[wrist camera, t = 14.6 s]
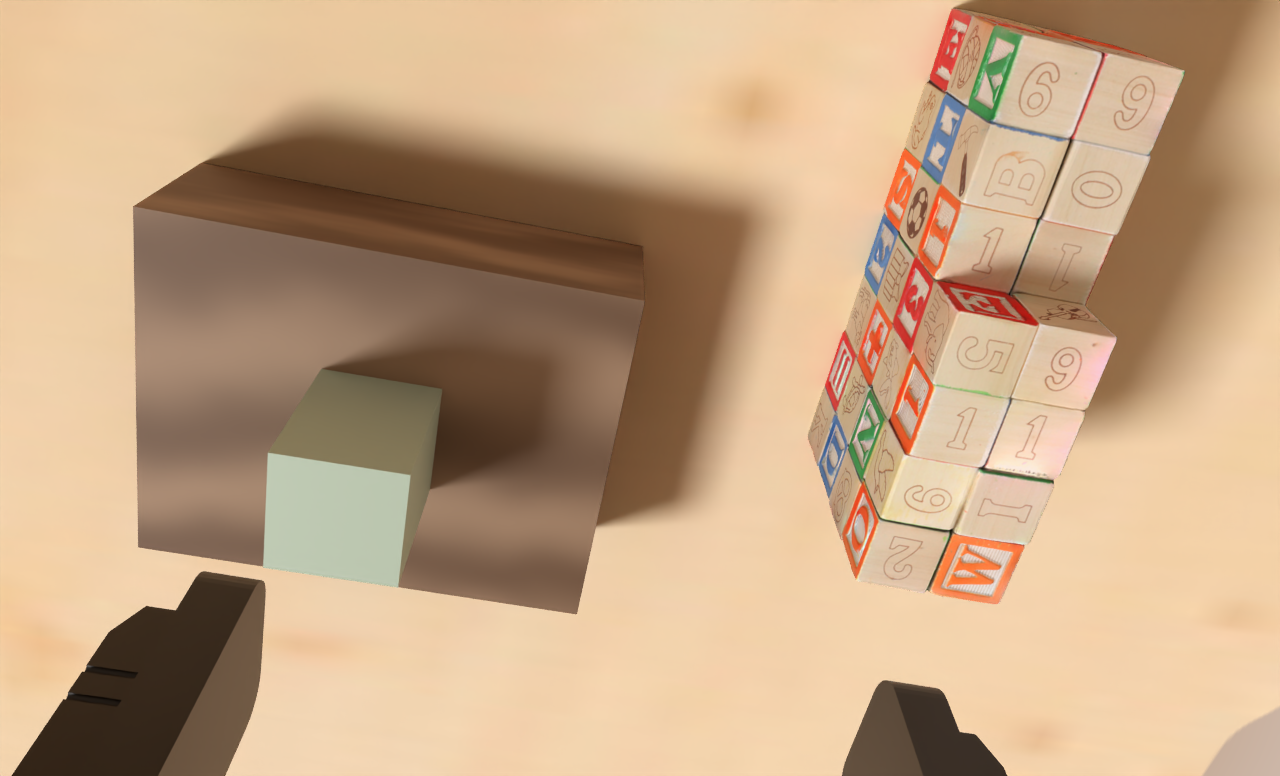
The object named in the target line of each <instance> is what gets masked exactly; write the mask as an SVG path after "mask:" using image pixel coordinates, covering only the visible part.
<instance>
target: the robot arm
mask: <svg viewBox="0 0 1280 776" xmlns="http://www.w3.org/2000/svg"><path fill="white" fill-rule="evenodd" d="M265 592H266V591H265V583H264V581H262V580H255V579H249V578H243V577H236V576H230V575H224V574H217V573H211V572H201V573H200V574H199V575H198V576H197V577H196V578H195V580H194V582H193V583H192V585H191V586H190V588H189V590H188V591H187V593H186V595H185V596H184V598H183V600H182V601H181V603H180V605H179V606H178V608H177V610H176V611H175V610H169V609H162V608H155V607H149V606H146V607H144V608H143V609H141V610H140V611H138V612H137V613H136V614H134V615H133V616H131V617H130V618H128V619H127V620H126V621H124V622H123V623H121V624H120V625H118V626H117V627H116V628H114V629H113V630H111V631H110V632H109V633H108V634H107V636H106V637H105V639H104V640H103V642H102V643H101V645H100V646H99V648H98V649H97V651H96V652H95V654H94V655H93V656H92V658H91V659H90V661H89V662H88V664H87V667H86V670H85V672H82V673H81V674H80V676H79V677H78V679H77V680H76V682H75V683H74V684H73V686H72V687H71V689H70V690H69V692H68V696H67V699H66V700H65V699H63V701H62V702H61V704H60V705H59V707H58V708H57V710H56V711H55V713H54V714H53V715H52V717H51V718H50V720H49V721H48V723H47V724H46V726H45V727H44V729H43V730H42V732H41V733H40V735H39V736H38V738H37V739H36V741H35V742H34V743H33V745H32V746H31V748H30V749H29V751H28V752H27V754H26V755H25V757H24V758H23V760H22V761H21V763H20V764H19V766H18V767H17V769H16V770H15V772H14V773H13V774H12V776H225V775H226V772H227V770H228V768H229V766H230V763H231V761H232V759H233V757H234V754H235V752H236V750H237V748H238V745H239V743H240V741H241V738H242V736H243V734H244V732H245V729H246V727H247V725H248V722H249V720H250V717H251V714H252V711H253V707H254V704H255V700H256V696H257V692H258V687H259V681H260V674H261V659H262V643H263V627H264V610H265ZM842 776H1007V774H1006V772H1005V770H1004V767H1003V766H1002V765H1001V764H1000V763H999V762H998V760H997V759H996V758H995V757H994V756H993V754H992V753H991V752H990V751H989V750H988V749H987V747H986V746H985V745H984V744H983V743H982V741H981V740H980V739H979V738H978V737H977V736H976V735H975V734H969V733H962V732H959V729H958V727H957V724H956V722H955V719H954V717H953V714H952V711H951V709H950V706H949V704H948V701H947V699H946V697H945V695H944V693H943V692H942V691H941V690H940V689H937V688H931V687H925V686H919V685H912V684H906V683H900V682H893V681H887V680H885V681H882V682H881V683H880V684H879V685H878V686H877V688H876V689H875V692H874V694H873V696H872V699H871V701H870V703H869V706H868V708H867V711H866V713H865V715H864V718H863V720H862V723H861V725H860V727H859V730H858V732H857V735H856V737H855V739H854V742H853V744H852V747H851V749H850V751H849V754H848V756H847V759H846V762H845V765H844V768H843V774H842Z"/></svg>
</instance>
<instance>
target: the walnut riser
mask: <svg viewBox="0 0 1280 776" xmlns="http://www.w3.org/2000/svg"><path fill="white" fill-rule="evenodd" d="M133 222H134V289H135V356H136V422H137V489H138V547H140V548H146V549H153V550H159V551H166V552H172V553H179V554H185V555H192V556H199V557H205V558H212V559H218V560H225V561H231V562H238V563H244V564H251V565H257V566H263V559H264V535H265V511H266V486H267V462H268V452H269V450H270V449H271V447H272V445H273V444H274V442H275V441H276V439H277V438H278V436H279V434H280V433H281V431H282V430H283V428H284V427H285V425H286V423H287V422H288V420H289V419H290V417H291V416H292V414H293V412H294V411H295V409H296V408H297V406H298V405H299V403H300V401H301V400H302V398H303V397H304V395H305V394H306V392H307V390H308V389H309V387H310V386H311V384H312V383H313V381H314V380H315V378H316V376H317V375H318V373H319V372H320V370H321V369H326V370H332V371H338V372H344V373H350V374H356V375H362V376H368V377H374V378H380V379H386V380H392V381H398V382H404V383H410V384H416V385H422V386H428V387H434V388H440V389H442V396H441V404H440V412H439V420H438V428H437V436H436V445H435V453H434V461H433V469H432V477H431V485H430V491H429V494H428V497H427V500H426V503H425V506H424V509H423V512H422V515H421V519H420V522H419V525H418V528H417V531H416V534H415V537H414V540H413V543H412V546H411V549H410V552H409V555H408V558H407V561H406V564H405V567H404V571H403V574H402V577H401V580H400V583H399V586H398V587H401V588H408V589H414V590H421V591H427V592H434V593H441V594H447V595H454V596H460V597H467V598H473V599H480V600H486V601H493V602H499V603H506V604H513V605H519V606H526V607H532V608H539V609H545V610H552V611H558V612H565V613H571V614H577V611H578V606H579V602H580V597H581V593H582V588H583V583H584V579H585V574H586V570H587V565H588V560H589V556H590V551H591V547H592V542H593V537H594V533H595V528H596V524H597V519H598V514H599V510H600V505H601V501H602V496H603V492H604V487H605V482H606V478H607V473H608V469H609V464H610V459H611V455H612V450H613V446H614V441H615V436H616V432H617V427H618V423H619V418H620V413H621V409H622V404H623V400H624V395H625V390H626V386H627V381H628V377H629V372H630V368H631V363H632V358H633V354H634V349H635V345H636V340H637V335H638V331H639V326H640V322H641V317H642V312H643V308H644V303H645V291H644V270H643V249H642V246H637V245H632V244H627V243H621V242H616V241H611V240H606V239H600V238H595V237H590V236H585V235H579V234H574V233H569V232H564V231H558V230H553V229H548V228H543V227H537V226H532V225H527V224H521V223H516V222H511V221H506V220H500V219H495V218H490V217H485V216H479V215H474V214H469V213H464V212H458V211H453V210H448V209H442V208H437V207H432V206H427V205H421V204H416V203H411V202H406V201H400V200H395V199H390V198H385V197H379V196H374V195H369V194H363V193H358V192H353V191H348V190H342V189H337V188H332V187H327V186H321V185H316V184H311V183H306V182H300V181H295V180H290V179H285V178H279V177H274V176H269V175H263V174H258V173H253V172H248V171H242V170H237V169H232V168H227V167H221V166H216V165H211V164H206V163H200V164H199V165H197V166H196V167H194V168H193V169H191V170H190V171H188V172H186V173H185V174H183V175H182V176H180V177H179V178H177V179H175V180H174V181H172V182H171V183H169V184H168V185H166V186H165V187H163V188H161V189H160V190H158V191H157V192H155V193H154V194H152V195H150V196H149V197H147V198H146V199H144V200H143V201H141V202H140V203H138V204H136V205H135V206H133Z"/></svg>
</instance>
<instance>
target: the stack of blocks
mask: <svg viewBox="0 0 1280 776" xmlns="http://www.w3.org/2000/svg"><path fill="white" fill-rule="evenodd" d="M1184 74H1185V70H1182V69H1180V68H1177V67H1174V66H1171V65H1168V64H1165V63H1163V62H1160V61H1157V60H1154V59H1151V58H1148V57H1147V56H1145V55H1142V54H1139V53H1136V52H1133V51H1130V50H1127V49H1124V48H1120V47H1117V46H1114V45H1109V44H1105V43H1102V42H1098V41H1095V40H1091V39H1088V38H1084V37H1080V36H1076V35H1072V34H1067V33H1063V32H1059V31H1054V30H1050V29H1045V28H1041V27H1037V26H1032V25H1028V24H1023V23H1020V22H1017V21H1014V20H1009V19H1005V18H1001V17H996V16H992V15H988V14H983V13H979V12H974V11H969V10H963V9H956V8H954V9H952V10H951V12H950V15H949V18H948V22H947V25H946V28H945V31H944V34H943V37H942V41H941V44H940V47H939V50H938V53H937V56H936V59H935V62H934V66H933V69H932V72H931V74H930V81H929V82H927V83H926V84H925V87H924V90H923V93H922V96H921V99H920V102H919V105H918V108H917V111H916V114H915V117H914V120H913V123H912V126H911V129H910V132H909V135H908V138H907V141H906V147H905V149H904V151H903V153H902V156H901V158H900V161H899V164H898V167H897V170H896V173H895V176H894V179H893V182H892V185H891V188H890V191H889V194H888V197H887V200H886V203H885V206H884V215H883V217H882V220H881V223H880V226H879V229H878V233H877V235H876V238H875V241H874V244H873V247H872V250H871V253H870V256H869V259H868V262H867V265H866V268H865V274H864V276H863V279H862V281H861V284H860V287H859V290H858V293H857V296H856V299H855V302H854V305H853V308H852V311H851V314H850V318H849V321H848V324H847V327H846V330H845V331H844V332H843V334H842V337H841V340H840V343H839V346H838V349H837V352H836V355H835V358H834V361H833V364H832V367H831V370H830V373H829V376H828V379H827V382H826V384H825V388H824V389H823V392H822V395H821V398H820V401H819V404H818V406H817V409H816V412H815V415H814V418H813V421H812V424H811V427H810V430H809V433H808V439H809V442H810V445H811V448H812V450H813V454H814V457H815V460H816V463H817V466H819V469H820V473H821V476H822V479H823V482H824V485H825V488H826V492H827V495H828V498H829V505H830V508H831V511H832V515H833V518H834V521H835V524H836V527H837V530H838V533H839V536H840V538H841V540H843V542H844V545H845V549H846V552H847V555H848V558H849V561H850V564H851V568H852V571H853V574H854V576H855V578H856V580H857V581H859V582H864V583H870V584H876V585H881V586H887V587H893V588H898V589H904V590H909V591H914V592H918V593H925V591H926V590H928V591H929V592H930V593H932V594H935V595H939V596H945V597H952V598H958V599H964V600H970V601H977V602H983V603H990V604H998V603H1000V601H1001V599H1002V596H1003V594H1004V592H1005V590H1006V588H1007V585H1008V583H1009V581H1010V578H1011V576H1012V574H1013V572H1014V570H1015V568H1016V566H1017V563H1018V561H1019V559H1020V556H1021V554H1022V552H1023V550H1024V545H1027V544H1029V542H1030V541H1031V539H1032V537H1033V534H1034V532H1035V530H1036V528H1037V526H1038V523H1039V520H1040V518H1041V516H1042V514H1043V511H1044V509H1045V507H1046V505H1047V502H1048V500H1049V497H1050V495H1051V493H1052V490H1053V488H1054V481H1053V480H1054V479H1055V478H1057V477H1058V476H1059V475H1060V474H1061V472H1062V469H1063V467H1064V465H1065V463H1066V460H1067V458H1068V455H1069V453H1070V451H1071V449H1072V447H1073V444H1074V441H1075V439H1076V437H1077V434H1078V432H1079V430H1080V428H1081V425H1082V423H1083V421H1084V417H1085V409H1086V408H1087V407H1088V406H1089V404H1090V402H1091V400H1092V397H1093V395H1094V393H1095V390H1096V388H1097V386H1098V383H1099V381H1100V379H1101V376H1102V374H1103V372H1104V369H1105V367H1106V365H1107V363H1108V360H1109V358H1110V355H1111V353H1112V350H1113V348H1114V346H1115V344H1116V341H1117V337H1116V336H1115V335H1114V334H1112V333H1111V332H1110V331H1109V329H1108V328H1107V327H1106V326H1105V325H1104V324H1103V323H1102V322H1101V321H1100V320H1099V319H1097V318H1096V317H1095V316H1094V315H1093V314H1092V313H1091V312H1090V311H1089V310H1088V308H1087V307H1086V306H1085V305H1086V302H1087V300H1088V298H1089V296H1090V293H1091V291H1092V289H1093V286H1094V284H1095V282H1096V279H1097V277H1098V275H1099V272H1100V270H1101V268H1102V265H1103V263H1104V261H1105V258H1106V256H1107V254H1108V251H1109V249H1110V247H1111V244H1112V242H1113V239H1114V236H1115V235H1116V234H1118V233H1119V231H1120V229H1121V226H1122V224H1123V222H1124V219H1125V217H1126V215H1127V213H1128V210H1129V208H1130V206H1131V203H1132V201H1133V199H1134V196H1135V194H1136V192H1137V189H1138V187H1139V185H1140V182H1141V180H1142V178H1143V175H1144V173H1145V171H1146V168H1147V166H1148V164H1149V161H1150V159H1151V156H1150V154H1149V153H1150V152H1151V150H1152V148H1153V146H1154V144H1155V142H1156V140H1157V137H1158V135H1159V133H1160V130H1161V128H1162V126H1163V123H1164V121H1165V118H1166V116H1167V114H1168V112H1169V110H1170V108H1171V106H1172V103H1173V100H1174V97H1175V95H1176V93H1177V91H1178V89H1179V86H1180V84H1181V82H1182V80H1183V77H1184Z"/></svg>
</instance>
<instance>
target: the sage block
mask: <svg viewBox="0 0 1280 776" xmlns="http://www.w3.org/2000/svg"><path fill="white" fill-rule="evenodd" d="M441 396H442V389H440V388H434V387H428V386H422V385H416V384H410V383H404V382H398V381H392V380H386V379H380V378H374V377H368V376H362V375H356V374H350V373H344V372H338V371H332V370H326V369H321V370H320V372H319V373H318V375H317V376H316V378H315V380H314V381H313V383H312V384H311V386H310V387H309V389H308V390H307V392H306V394H305V395H304V397H303V398H302V400H301V401H300V403H299V405H298V406H297V408H296V409H295V411H294V412H293V414H292V416H291V417H290V419H289V420H288V422H287V423H286V425H285V427H284V428H283V430H282V431H281V433H280V434H279V436H278V438H277V439H276V441H275V442H274V444H273V445H272V447H271V449H270V450H269V452H268V462H267V486H266V511H265V535H264V559H263V568H269V569H276V570H283V571H289V572H296V573H303V574H310V575H317V576H323V577H330V578H337V579H344V580H351V581H357V582H364V583H371V584H378V585H384V586H391V587H398V586H399V583H400V580H401V577H402V574H403V571H404V567H405V564H406V561H407V558H408V555H409V552H410V549H411V546H412V543H413V540H414V537H415V534H416V531H417V528H418V525H419V522H420V519H421V515H422V512H423V509H424V506H425V503H426V500H427V497H428V494H429V491H430V485H431V477H432V469H433V461H434V453H435V445H436V436H437V428H438V420H439V412H440V404H441Z"/></svg>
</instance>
